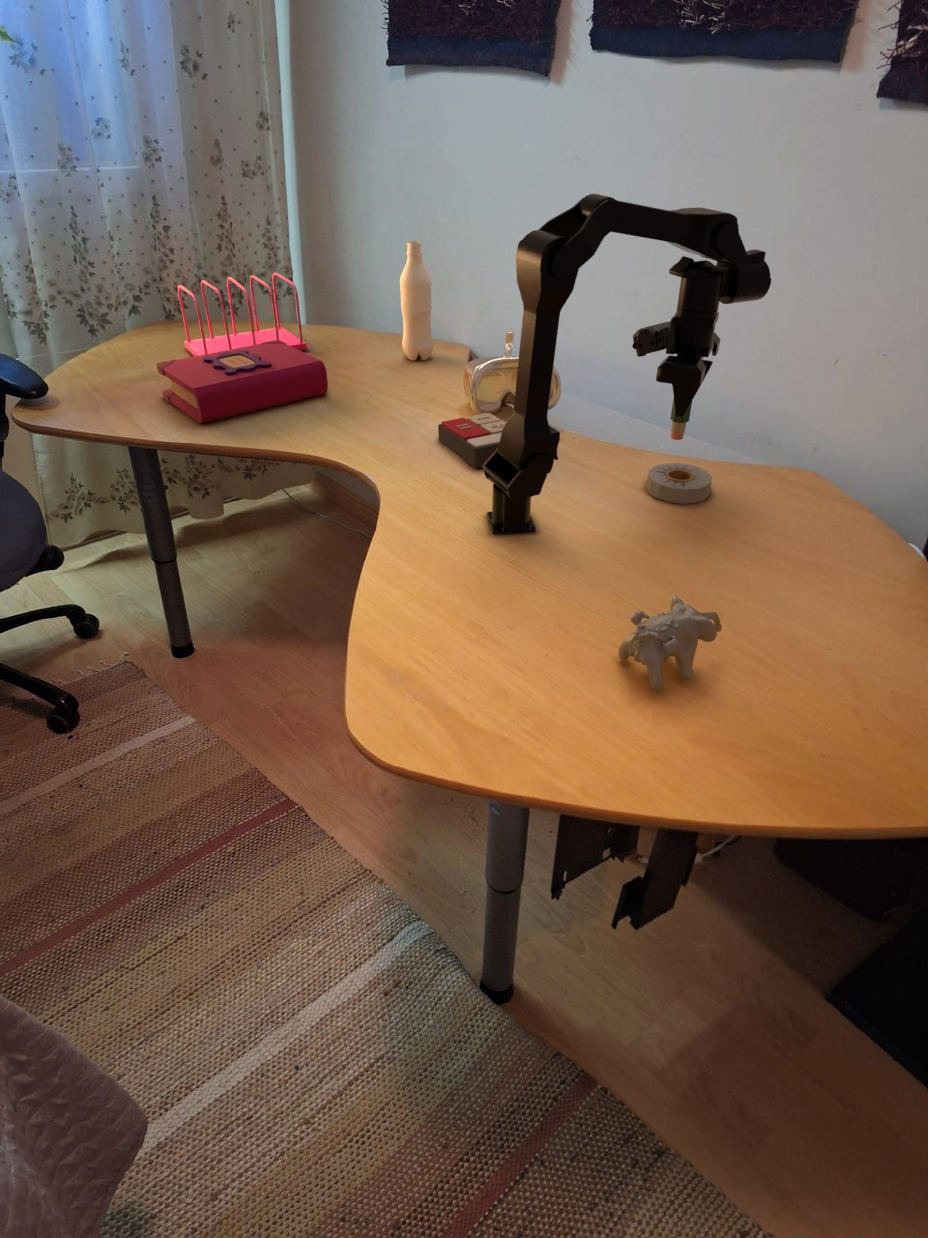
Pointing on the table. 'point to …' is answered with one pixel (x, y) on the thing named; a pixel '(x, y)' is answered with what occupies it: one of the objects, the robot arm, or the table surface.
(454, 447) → the calculator
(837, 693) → the table surface
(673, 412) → the pencil
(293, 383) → the book
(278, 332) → the file sorter
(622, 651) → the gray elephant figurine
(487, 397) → the diving goggles
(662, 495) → the tape
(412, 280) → the water bottle
